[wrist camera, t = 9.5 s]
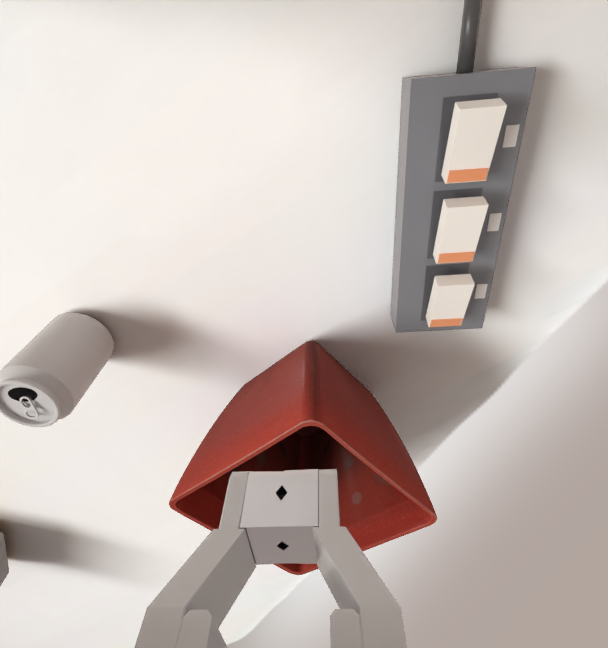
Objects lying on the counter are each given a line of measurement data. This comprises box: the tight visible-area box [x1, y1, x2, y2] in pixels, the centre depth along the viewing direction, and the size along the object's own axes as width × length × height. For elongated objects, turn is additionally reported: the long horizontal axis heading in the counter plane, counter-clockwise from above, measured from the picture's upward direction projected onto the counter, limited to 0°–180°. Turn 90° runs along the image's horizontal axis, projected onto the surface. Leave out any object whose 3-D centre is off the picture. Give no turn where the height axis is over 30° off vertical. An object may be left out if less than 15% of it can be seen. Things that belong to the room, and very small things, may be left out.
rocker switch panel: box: [391, 0, 536, 332], centre depth 35 cm, size 29×9×4 cm, turn 5°
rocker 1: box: [441, 98, 507, 184], centre depth 30 cm, size 6×3×2 cm, turn 4°
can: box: [0, 313, 114, 427], centre depth 42 cm, size 8×8×12 cm
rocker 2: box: [433, 196, 489, 264], centre depth 34 cm, size 6×3×2 cm, turn 4°
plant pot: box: [169, 341, 437, 575], centre depth 44 cm, size 19×19×17 cm
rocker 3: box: [426, 274, 475, 327], centre depth 37 cm, size 6×3×2 cm, turn 4°
